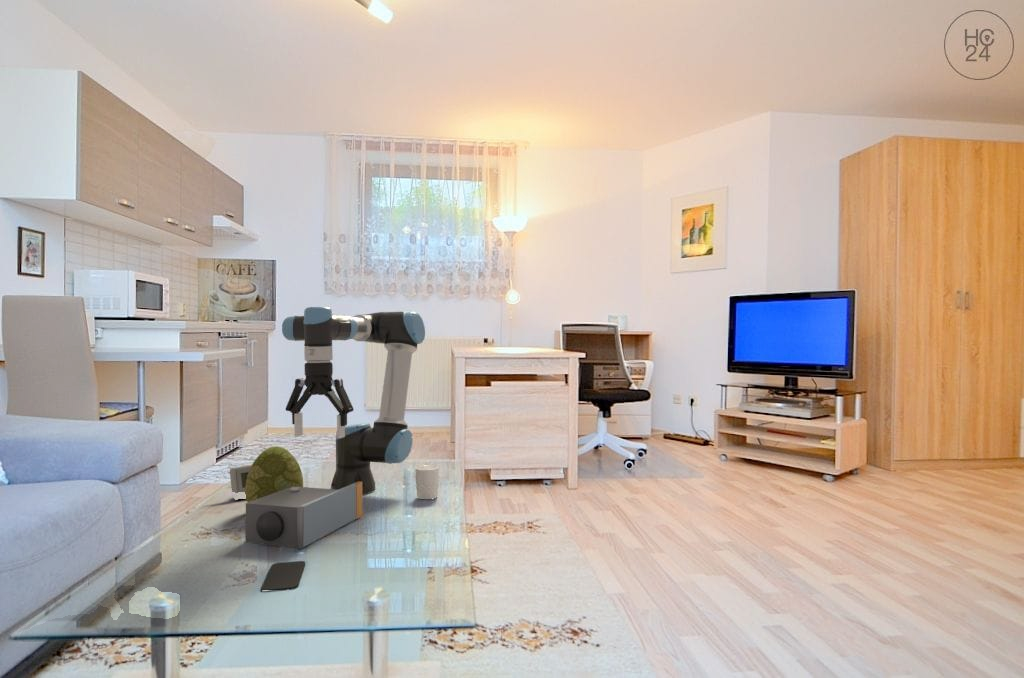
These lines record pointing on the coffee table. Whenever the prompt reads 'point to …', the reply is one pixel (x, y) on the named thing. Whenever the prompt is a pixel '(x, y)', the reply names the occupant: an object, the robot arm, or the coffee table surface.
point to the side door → (328, 513)
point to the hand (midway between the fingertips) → (319, 436)
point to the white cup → (427, 481)
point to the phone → (284, 576)
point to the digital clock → (239, 477)
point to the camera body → (278, 515)
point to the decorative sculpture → (272, 473)
